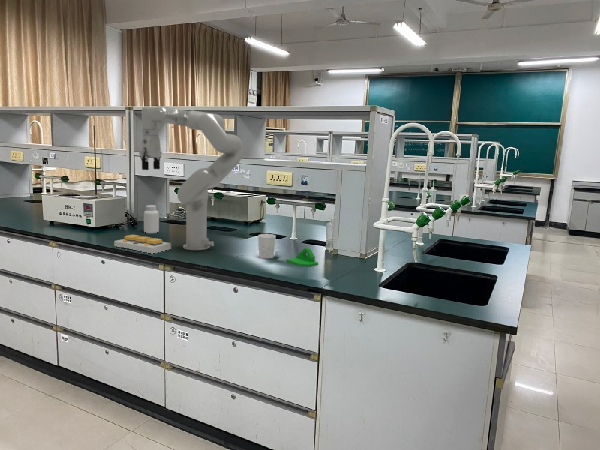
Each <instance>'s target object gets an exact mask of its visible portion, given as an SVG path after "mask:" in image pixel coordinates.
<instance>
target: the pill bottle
mask: <svg viewBox="0 0 600 450" xmlns="http://www.w3.org/2000/svg"><path fill="white" fill-rule="evenodd" d="M159 216H160V213H159V211H158V210H157V205H154V204H148V205H147V204H146V205H145V210H144V212H143V232H144V233H145V232H146V233H145V234H157V232H158V233H159V231H160V230H159V229H160V222H159V221H160V220H159V219H160V217H159Z"/></svg>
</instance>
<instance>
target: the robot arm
mask: <svg viewBox="0 0 600 450" xmlns="http://www.w3.org/2000/svg"><path fill="white" fill-rule="evenodd" d="M159 123H160V124H168V125H169V124H170V125H175V126H181V127H187V128H188V129H191V130H194V131H200V132H202V134H203V135H204V136H205V138H206V139H207V140H208V142H209V143H210V145H211V146H212V147H213V149H215V151H217V152H219V153H221V155H220V156H218V157H217V158H216V160H215V161H214V162H213V163H212V164H211V165H209V166H207V167H202V168H198V169H197V170H196V171H194V172H193V173H192V174H191V175H190V176H189V177H188V178H187V179H186V180H185V181H184V182H183V183H182V184H181V185H180V187H179V188H178V190H177V200H178V201H179V202H180V203H181V204H183V205H186V209H185V210H186V211H185V212H186V213H185V221H186V222H185V223H186V224H185V226H186V227H185V231H186V237H185V238H186V241H185V244H183V245H182V248H183V249H184V250H186V251H188V250H189V251H205V250H209V249H210V248H211V247H214V245H215V242H214V241H211V240H209V238H208V237H207V231H208V230H207V226H208V225H207V221H208V220H207V219H208V218H207V216H208V214H207V213H208V211H207V210H208V209H207V208H208V200H209V191H208V189H213V188H216V187H217V186H218V185H220V184H221V182H222V181H223V180H225V178H227V176H228V175H229V174H230V173H231V172H232V171H233V170H234V169H235V168H236V167H237V166H238V165H239V163H240V162H241V161H242V158H243V155H244V143H243V142H242V140H241V138H240V137H239V136H238V135H235V134H233V133H231V134H230V133H229V134H228V133H226V132H225V130H224V128H225V120H224V118H223V117H222V116H221V115H219V114H218V113H217V114H216V113H212V112H211V113H210V112H206V111H205V112H204V111H200V110H199V111H197V110H193V109H191V110H185V109H177V108H173V107H169V106H143V107H142V108H141V135H142V136H141V137H142V138H141V150H140V151H139V156H140V160H141V170H143V171H149V169H150V168H149V167H150V165H149V163H150V162H149V159H150V158H152V159H153V163H152V166H153V170H160V169H161V163H160V162H161V158H162V154H163V153H162V150H161V149H162V148H161V140H160V136H159V135H160V134H159V132H160V131H159V130H160V127H159Z"/></svg>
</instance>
